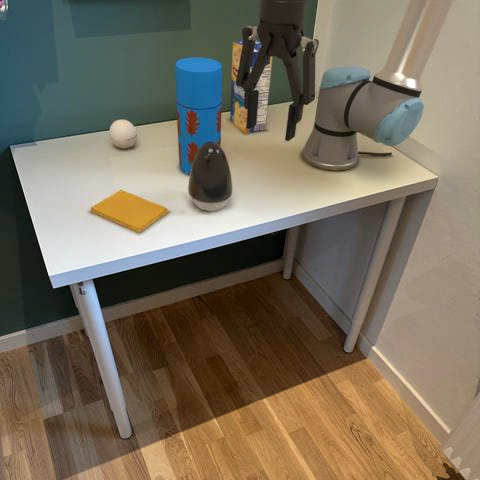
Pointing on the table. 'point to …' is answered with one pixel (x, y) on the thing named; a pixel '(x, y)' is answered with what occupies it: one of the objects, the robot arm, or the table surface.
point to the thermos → (197, 106)
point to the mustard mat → (129, 210)
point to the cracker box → (238, 94)
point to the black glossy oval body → (210, 178)
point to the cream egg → (123, 133)
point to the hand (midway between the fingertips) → (270, 132)
